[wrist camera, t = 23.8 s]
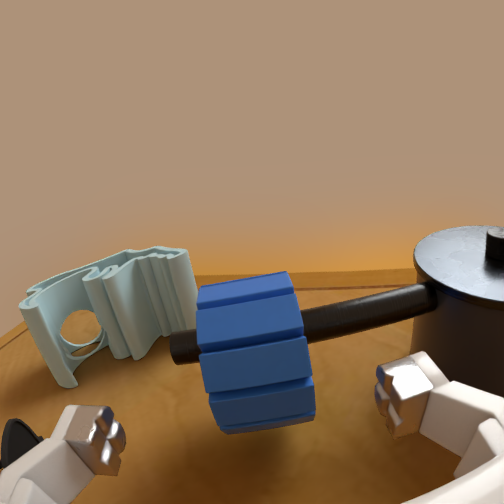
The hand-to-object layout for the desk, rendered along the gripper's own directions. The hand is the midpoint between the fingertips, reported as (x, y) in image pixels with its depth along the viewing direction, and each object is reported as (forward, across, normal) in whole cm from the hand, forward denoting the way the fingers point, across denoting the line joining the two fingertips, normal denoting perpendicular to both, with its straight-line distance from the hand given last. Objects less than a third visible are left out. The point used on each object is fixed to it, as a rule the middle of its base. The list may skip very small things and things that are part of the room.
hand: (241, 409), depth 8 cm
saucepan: (+9, -10, +11) cm, 18 cm away
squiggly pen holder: (+22, +15, +12) cm, 29 cm away
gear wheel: (+9, 0, +9) cm, 13 cm away
